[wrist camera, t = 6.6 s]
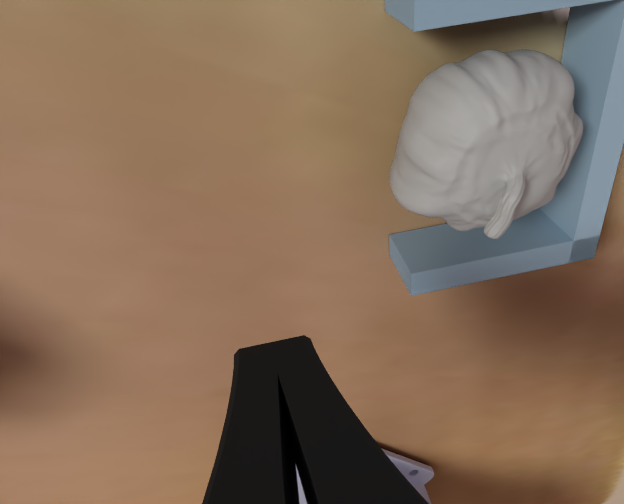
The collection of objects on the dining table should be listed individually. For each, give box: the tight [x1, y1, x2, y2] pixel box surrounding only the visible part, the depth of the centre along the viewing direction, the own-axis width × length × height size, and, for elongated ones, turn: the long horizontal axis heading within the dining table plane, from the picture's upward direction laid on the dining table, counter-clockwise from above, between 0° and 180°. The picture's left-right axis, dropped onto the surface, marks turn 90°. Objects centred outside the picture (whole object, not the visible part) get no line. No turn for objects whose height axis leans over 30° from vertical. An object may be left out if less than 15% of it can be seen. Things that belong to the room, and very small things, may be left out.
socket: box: [385, 0, 624, 296], centre depth 18 cm, size 7×10×2 cm
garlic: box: [390, 50, 583, 239], centre depth 16 cm, size 6×5×5 cm
